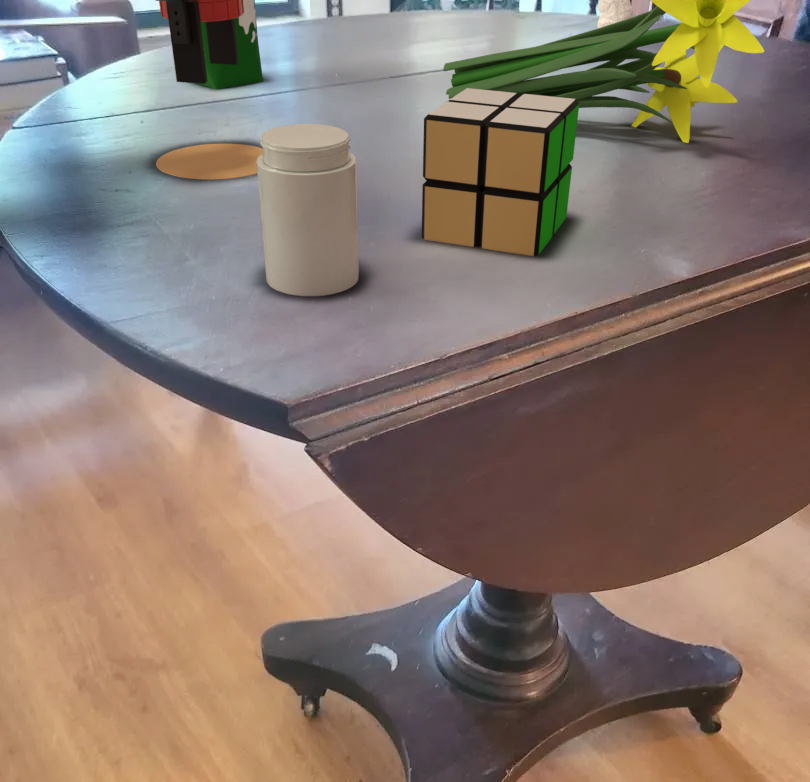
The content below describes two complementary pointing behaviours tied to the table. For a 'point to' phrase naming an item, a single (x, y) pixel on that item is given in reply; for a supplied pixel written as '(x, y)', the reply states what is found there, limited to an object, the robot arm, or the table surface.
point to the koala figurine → (614, 11)
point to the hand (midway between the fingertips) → (208, 71)
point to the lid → (213, 9)
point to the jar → (308, 209)
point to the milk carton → (247, 54)
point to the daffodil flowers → (675, 83)
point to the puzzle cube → (498, 170)
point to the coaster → (211, 161)
